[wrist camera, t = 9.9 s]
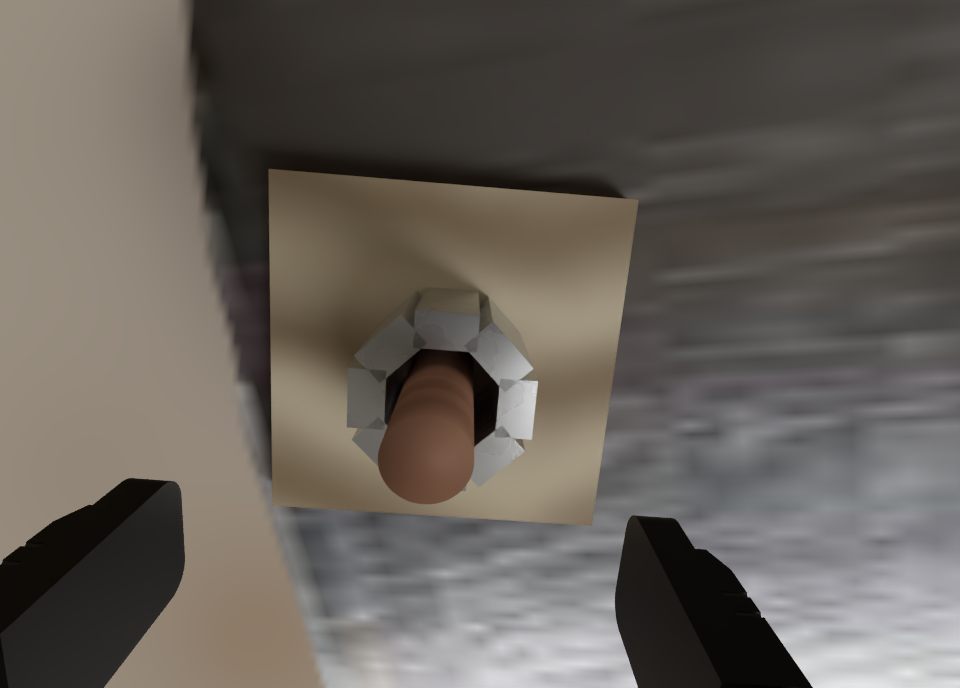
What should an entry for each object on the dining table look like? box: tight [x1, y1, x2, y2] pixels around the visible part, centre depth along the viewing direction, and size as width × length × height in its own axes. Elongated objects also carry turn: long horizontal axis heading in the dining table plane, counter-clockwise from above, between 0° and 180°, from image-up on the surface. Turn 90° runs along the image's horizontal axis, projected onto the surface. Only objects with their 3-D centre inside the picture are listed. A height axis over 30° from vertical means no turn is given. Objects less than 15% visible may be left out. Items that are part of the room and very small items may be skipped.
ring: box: [347, 287, 538, 491], centre depth 20 cm, size 6×6×5 cm
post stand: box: [269, 169, 639, 526], centre depth 19 cm, size 14×14×10 cm
